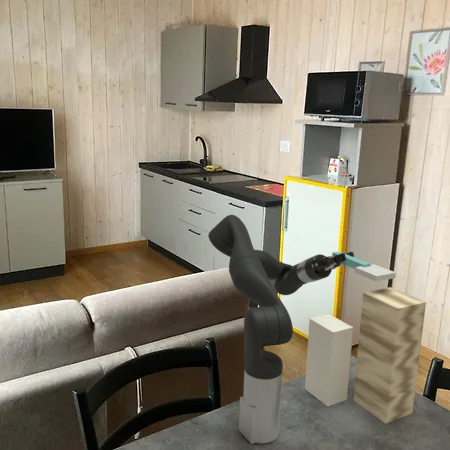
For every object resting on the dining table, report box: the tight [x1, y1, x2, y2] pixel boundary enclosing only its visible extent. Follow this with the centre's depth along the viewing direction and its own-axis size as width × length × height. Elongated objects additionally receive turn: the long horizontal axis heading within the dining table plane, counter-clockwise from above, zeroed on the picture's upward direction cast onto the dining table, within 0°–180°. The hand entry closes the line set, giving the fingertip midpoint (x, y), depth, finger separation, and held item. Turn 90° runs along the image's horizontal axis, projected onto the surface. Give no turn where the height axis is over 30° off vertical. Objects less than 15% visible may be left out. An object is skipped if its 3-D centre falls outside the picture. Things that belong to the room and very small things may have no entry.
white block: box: [304, 314, 354, 407], centre depth 140 cm, size 7×10×22 cm
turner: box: [331, 251, 397, 283], centre depth 140 cm, size 7×20×2 cm, turn 29°
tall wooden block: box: [353, 286, 427, 425], centre depth 134 cm, size 10×12×32 cm
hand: (348, 255), depth 144 cm, fingers closed on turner, 2 cm apart
